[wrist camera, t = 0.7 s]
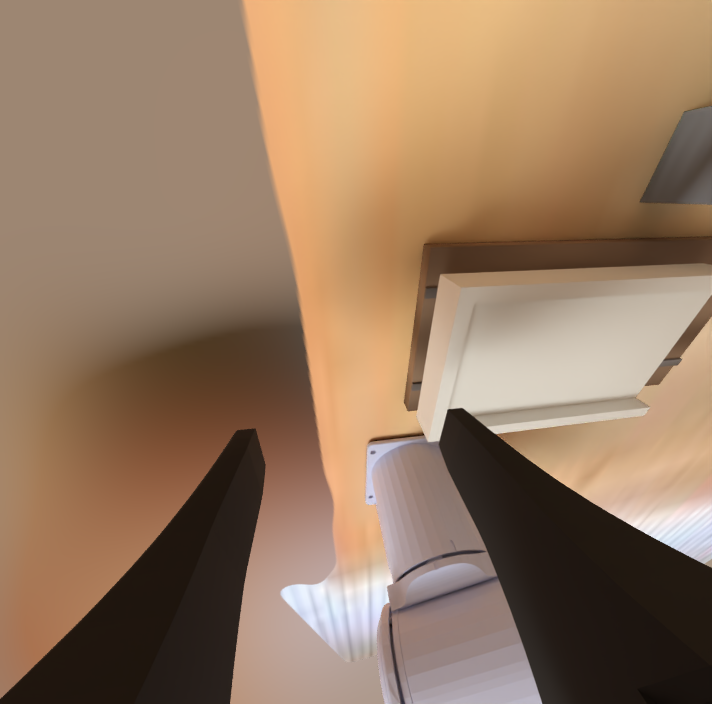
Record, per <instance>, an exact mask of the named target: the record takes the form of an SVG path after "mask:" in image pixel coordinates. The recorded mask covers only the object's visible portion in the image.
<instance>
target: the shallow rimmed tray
mask: <svg viewBox="0 0 712 704" xmlns="http://www.w3.org/2000/svg"><path fill="white" fill-rule="evenodd" d="M711 295H712V265H710V264H704V263H697V264H673V265H649V266H625V267H601V268H577V269H553V270H529V271H505V272H481V273H457V274H440V278H439V284H438V290H437V296H436V302H435V308H434V314H433V320H432V326H431V332H430V338H429V344H428V350H427V356H426V362H425V368H424V374H423V380H422V386H421V392H420V398H419V404H418V410H417V416H416V417H417V419H418V422H419V424H420V426H421V428H422V430H423V432H424V435H425V437H426V439H427V441H428V442H434V441H440V437H441V433H442V429H443V425H444V421H445V417H446V414H447V410H448V409H455V408H463V409H465V410H466V411H467V412H468V413H470V414H471V415H472V416H473V417H475V418H476V419H477V420H478V421H480V422H481V423H482V424H483V425H485V426H486V427H487V428H488V429H490V430H491V431H492V432H493V433H494V434H499V433H507V432H515V431H524V430H532V429H540V428H548V427H556V426H564V425H572V424H581V423H589V422H597V421H605V420H613V419H621V418H629V417H638V416H644V415H645V414H646V412H647V411H648V410H649V409H650V407H649V406H648V405H646V404H644V403H643V402H641V401H640V400H638V399H637V398H636V396H637V395H638V394H639V392H640V391H641V390H642V388H643V387H644V385H645V384H646V383H647V381H648V380H649V379H650V377H651V376H652V375H653V373H654V372H655V371H656V369H657V368H658V367H659V365H660V364H661V363H662V361H663V360H664V358H665V357H666V356H667V354H668V353H669V352H670V350H671V349H672V348H673V346H674V345H675V344H676V342H677V341H678V340H679V338H680V337H681V335H682V334H683V333H684V331H685V330H686V329H687V327H688V326H689V325H690V323H691V322H692V321H693V319H694V318H695V317H696V315H697V314H698V313H699V311H700V310H701V308H702V307H703V306H704V304H705V303H706V302H707V300H708V299H709V298H710V296H711Z"/></svg>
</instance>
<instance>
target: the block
mask: <svg viewBox="0 0 712 704" xmlns="http://www.w3.org/2000/svg"><path fill="white" fill-rule="evenodd" d="M640 202H646V203H677V204H707V205H712V106H709V107H704V108H699V109H695V110H690V111H685V112H684V113H683V115H682V117H681V119H680V121H679V123H678V125H677V127H676V129H675V131H674V133H673V135H672V137H671V139H670V141H669V143H668V146H667V148H666V150H665V152H664V154H663V156H662V158H661V160H660V162H659V164H658V166H657V168H656V170H655V172H654V174H653V176H652V178H651V180H650V182H649V184H648V186H647V188H646V190H645V192H644V194H643V196H642V198H641V200H640Z"/></svg>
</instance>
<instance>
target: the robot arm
mask: <svg viewBox="0 0 712 704" xmlns="http://www.w3.org/2000/svg"><path fill="white" fill-rule="evenodd" d="M264 476H265V461H264V458H263V454H262V451H261V447H260V443H259V440H258V436H257V432H256V429H247V430H237V431H236V432H235V434H234V435H233V437H232V438H231V440H230V441H229V443H228V444H227V446H226V447H225V449H224V450H223V452H222V453H221V455H220V456H219V457H218V459H217V461H216V462H215V463H214V465H213V466H212V468H211V469H210V470H209V472H208V473H207V474H206V476H205V477H204V479H203V480H202V481H201V483H200V484H199V485H198V487H197V488H196V490H195V491H194V492H193V494H192V495H191V496H190V497H189V499H188V500H187V501H186V503H185V504H184V505H183V506H182V508H181V509H180V510H179V511H178V513H177V514H176V515H175V516H174V518H173V519H172V520H171V522H170V523H169V524H168V525H167V526H166V528H165V529H164V530H163V531H162V533H161V534H160V535H159V536H158V537H157V538H156V540H155V541H154V542H153V543H152V544H151V545H150V547H149V548H148V549H147V550H146V551H145V552H144V553H143V554H142V556H141V557H140V558H139V559H138V560H137V561H136V562H135V564H134V565H133V566H132V567H131V568H130V569H129V570H128V571H127V572H126V573H125V574H124V576H123V577H122V578H121V579H120V580H119V581H118V582H117V583H116V584H115V585H114V586H113V587H112V588H111V589H110V591H109V592H108V593H107V594H106V595H105V596H104V597H103V598H102V599H101V600H100V601H99V602H98V603H97V604H96V605H95V607H94V608H92V609H91V610H90V611H89V613H88V614H87V615H86V616H85V617H84V618H83V619H82V620H81V621H80V622H79V623H78V624H77V625H76V626H75V627H74V628H73V629H72V630H71V631H70V632H69V633H68V634H67V635H66V636H65V637H64V638H63V639H61V641H59V642H58V643H57V644H56V645H55V646H54V647H53V649H51V650H50V651H49V652H48V653H47V655H45V656H44V657H43V658H42V659H41V660H40V661H39V662H38V663H37V664H36V665H35V666H34V667H33V668H32V669H31V670H30V671H29V672H28V673H27V674H26V675H25V676H24V677H23V678H22V679H21V680H20V681H19V682H18V683H17V684H16V685H15V686H14V687H12V688H11V689H10V690H9V691H8V692H7V693H6V694H5V695H4V696H3V697H2V698H1V699H0V704H230V698H231V688H232V679H233V669H234V661H235V652H236V643H237V635H238V627H239V619H240V612H241V604H242V595H243V588H244V582H245V577H246V571H247V566H248V561H249V557H250V552H251V547H252V542H253V538H254V533H255V528H256V523H257V519H258V514H259V509H260V505H261V500H262V495H263V486H264ZM365 501H366V504H368V505H372V504H376V508H377V512H378V517H379V522H380V527H381V532H382V537H383V542H384V547H385V552H386V557H387V562H388V566H389V569H390V572H391V574H392V579H393V583H394V584H392V585H389V586H387V590H388V596H389V601H390V603H387V604H385V605H384V607H383V609H382V612H381V617H380V620H379V623H378V629H377V655H378V664H379V673H380V680H381V686H382V692H383V697H384V702H385V704H712V568H711V567H709V566H707V565H705V564H703V563H701V562H699V561H697V560H695V559H693V558H691V557H689V556H687V555H685V554H683V553H681V552H679V551H677V550H675V549H674V548H672V547H670V546H668V545H666V544H664V543H662V542H660V541H658V540H656V539H655V538H653V537H651V536H649V535H647V534H645V533H644V532H642V531H640V530H638V529H636V528H635V527H633V526H631V525H629V524H628V523H626V522H624V521H622V520H621V519H619V518H617V517H615V516H614V515H612V514H610V513H608V512H607V511H605V510H603V509H602V508H600V507H598V506H597V505H595V504H593V503H592V502H590V501H589V500H587V499H585V498H584V497H582V496H581V495H579V494H578V493H576V492H575V491H573V490H571V489H570V488H568V487H567V486H565V485H564V484H562V483H561V482H559V481H558V480H556V479H555V478H553V477H552V476H550V475H549V474H548V473H546V472H545V471H543V470H542V469H541V468H539V467H538V466H536V465H535V464H534V463H532V462H531V461H529V460H528V459H527V458H525V457H524V456H523V455H521V454H520V453H519V452H517V451H516V450H515V449H514V448H512V447H511V446H510V445H508V444H507V443H506V442H505V441H503V440H502V439H501V438H499V437H498V436H497V435H496V434H494V433H493V432H492V431H491V430H490V429H488V428H487V427H486V426H485V425H483V424H482V423H481V422H480V421H478V420H477V419H476V418H475V417H473V416H472V415H471V414H470V413H468V412H467V411H466V410H465V409H463V408H455V409H448V410H447V414H446V417H445V421H444V425H443V429H442V433H441V437H440V441H434V442H428V441H427V439H426V437H425V435H424V436H415V437H407V438H399V439H390V440H382V441H373V442H370V443H369V444H368V445H367V461H366V493H365Z"/></svg>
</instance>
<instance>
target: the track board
mask: <svg viewBox="0 0 712 704" xmlns="http://www.w3.org/2000/svg"><path fill="white" fill-rule="evenodd" d="M697 263H704V264H710V265H712V237H676V238H639V239H602V240H565V241H528V242H490V243H453V244H424V249H423V257H422V265H421V273H420V281H419V289H418V297H417V304H416V312H415V320H414V328H413V336H412V344H411V352H410V359H409V367H408V375H407V383H406V391H405V399H404V404H405V406H406V408H407V410H408V411H415V410H418V404H419V398H420V392H421V386H422V380H423V374H424V368H425V362H426V356H427V350H428V344H429V338H430V332H431V326H432V320H433V314H434V308H435V302H436V296H437V290H438V284H439V278H440V274H457V273H481V272H505V271H529V270H553V269H577V268H601V267H625V266H649V265H673V264H697ZM711 317H712V295H711V296H710V298H709V299H708V300H707V302H706V303H705V304H704V306H703V307H702V308H701V310H700V311H699V313H698V314H697V315H696V317H695V318H694V319H693V321H692V322H691V323H690V325H689V326H688V327H687V329H686V330H685V331H684V333H683V334H682V335H681V337H680V338H679V340H678V341H677V342H676V344H675V345H674V346H673V348H672V349H671V350H670V352H669V353H668V354H667V356H666V357H665V358H664V360H663V361H662V363H661V364H660V365H659V367H658V368H657V369H656V371H655V372H654V373H653V375H652V376H651V377H650V379H649V380H648V381H647V383H646V384H645V385H644V386H649V385H658V384H660V382H661V381H662V380H663V379H664V377H665V376H666V375H667V373H668V372H669V371H670V369H671V368H672V367H673V366H674V365H678V364H679V363H680V362H681V360H682V359H681V358H680V357H681V355H682V354H683V353H684V351H685V350H686V349H687V348H688V346H689V345H690V344H691V342H692V341H693V340H694V338H695V337H696V336H697V335H698V333H699V332H700V331H701V329H702V328H703V327H704V326H705V324H706V323H707V322H708V320H709V319H710V318H711Z"/></svg>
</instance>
